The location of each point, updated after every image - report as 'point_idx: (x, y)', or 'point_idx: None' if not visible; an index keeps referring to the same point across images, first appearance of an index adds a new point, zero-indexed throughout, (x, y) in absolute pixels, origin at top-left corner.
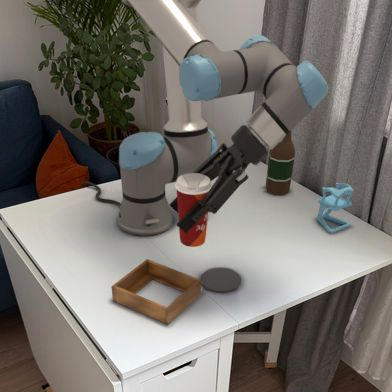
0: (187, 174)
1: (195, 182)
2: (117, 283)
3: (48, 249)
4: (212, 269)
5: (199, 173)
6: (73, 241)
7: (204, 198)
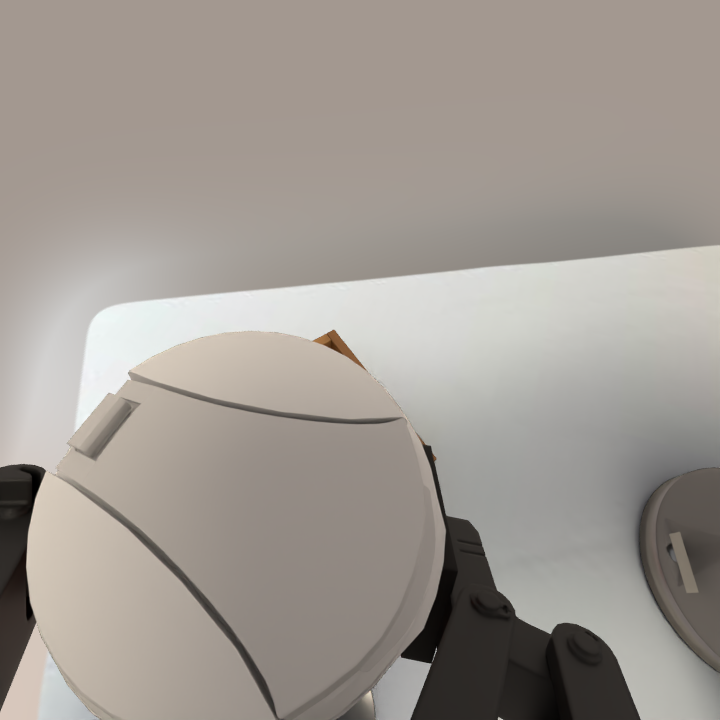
0: (400, 479)
1: (169, 482)
2: (340, 345)
3: (584, 286)
4: (366, 714)
5: (495, 700)
6: (617, 340)
7: (20, 535)
